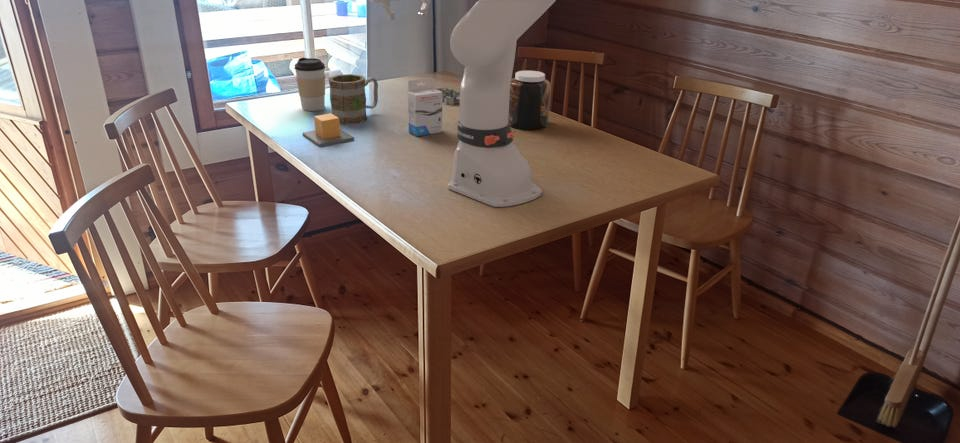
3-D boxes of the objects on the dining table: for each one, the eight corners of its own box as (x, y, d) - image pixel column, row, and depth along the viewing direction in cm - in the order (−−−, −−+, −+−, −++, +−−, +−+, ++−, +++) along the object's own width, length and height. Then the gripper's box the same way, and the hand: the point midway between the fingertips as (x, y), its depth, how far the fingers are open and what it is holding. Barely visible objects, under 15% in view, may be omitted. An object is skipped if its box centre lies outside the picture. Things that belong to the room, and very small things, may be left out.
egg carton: (467, 104, 217) (467, 91, 215) (445, 106, 214) (445, 94, 212) (453, 95, 226) (453, 83, 224) (433, 97, 223) (432, 85, 221)
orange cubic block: (340, 135, 183) (339, 118, 181) (323, 139, 180) (321, 121, 178) (332, 130, 186) (331, 113, 184) (315, 133, 184) (314, 116, 181)
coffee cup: (334, 107, 210) (330, 58, 203) (313, 113, 203) (308, 64, 197) (313, 102, 214) (309, 54, 208) (292, 108, 207) (287, 59, 201)
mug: (342, 126, 193) (339, 85, 187) (323, 117, 200) (320, 77, 195) (388, 116, 202) (387, 77, 197) (368, 108, 209) (366, 70, 204)
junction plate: (354, 140, 182) (353, 124, 180) (319, 146, 177) (318, 131, 175) (336, 129, 190) (335, 114, 188) (302, 135, 185) (301, 120, 183)
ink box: (416, 137, 186) (415, 84, 179) (408, 132, 189) (406, 80, 183) (443, 132, 190) (443, 80, 184) (434, 127, 194) (433, 76, 187)
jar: (518, 132, 191) (521, 80, 185) (500, 120, 201) (502, 70, 194) (554, 128, 196) (558, 76, 189) (535, 116, 205) (538, 67, 199)
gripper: (432, -44, 172) (434, 12, 178) (361, -39, 161) (365, 20, 167) (446, -42, 168) (447, 15, 174) (373, -38, 157) (378, 23, 163)
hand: (406, 18), depth 170 cm, fingers open, 8 cm apart
